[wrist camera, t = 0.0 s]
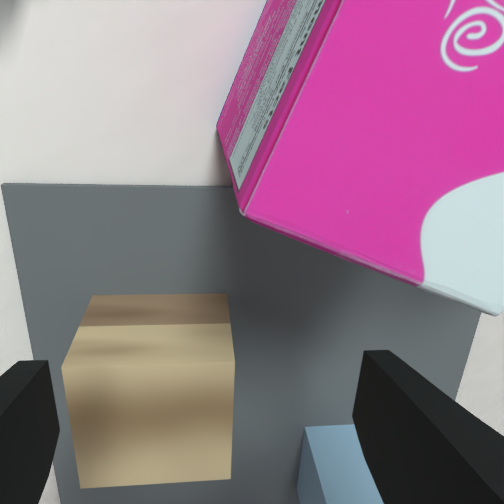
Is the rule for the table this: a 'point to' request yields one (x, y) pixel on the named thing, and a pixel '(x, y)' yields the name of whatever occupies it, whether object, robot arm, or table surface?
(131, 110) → the table surface
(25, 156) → the table surface
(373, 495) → the cube
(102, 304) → the slab lower
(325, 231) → the supplement box
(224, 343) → the slab upper
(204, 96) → the table surface
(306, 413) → the mat
